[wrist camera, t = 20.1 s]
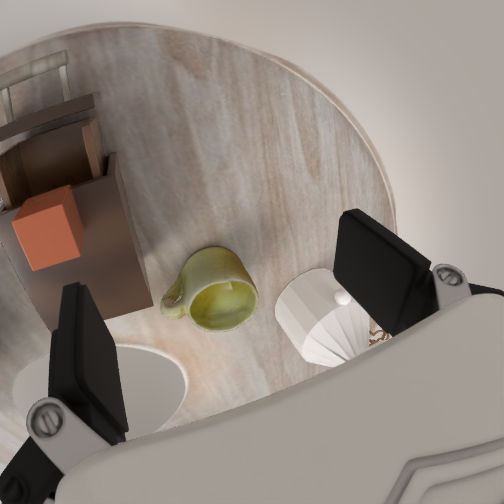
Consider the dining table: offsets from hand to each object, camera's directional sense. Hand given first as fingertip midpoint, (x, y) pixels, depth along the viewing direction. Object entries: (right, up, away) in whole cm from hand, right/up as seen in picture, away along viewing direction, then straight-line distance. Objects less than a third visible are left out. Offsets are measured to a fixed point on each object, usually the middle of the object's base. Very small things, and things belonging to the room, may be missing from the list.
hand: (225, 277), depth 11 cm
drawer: (-20, +12, +16) cm, 28 cm away
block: (-16, +4, +12) cm, 20 cm away
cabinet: (-19, +4, +23) cm, 30 cm away
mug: (-7, -2, +33) cm, 34 cm away
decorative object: (+11, -7, +45) cm, 47 cm away
